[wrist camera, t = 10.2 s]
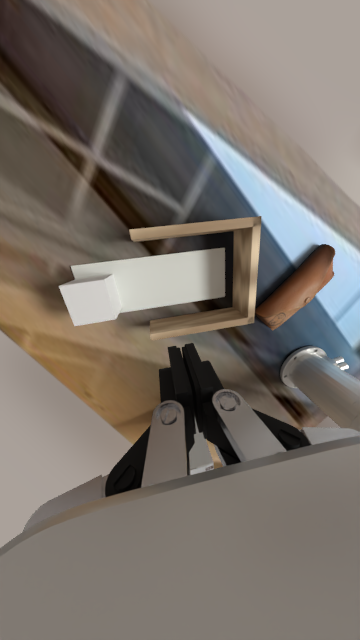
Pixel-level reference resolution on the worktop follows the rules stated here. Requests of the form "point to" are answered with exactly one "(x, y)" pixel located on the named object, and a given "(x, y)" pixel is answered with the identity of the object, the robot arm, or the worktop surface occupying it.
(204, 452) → the skincare box
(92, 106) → the worktop surface
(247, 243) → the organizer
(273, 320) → the sunglasses case
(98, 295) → the white cube
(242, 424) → the robot arm
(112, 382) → the worktop surface
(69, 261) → the worktop surface
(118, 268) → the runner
